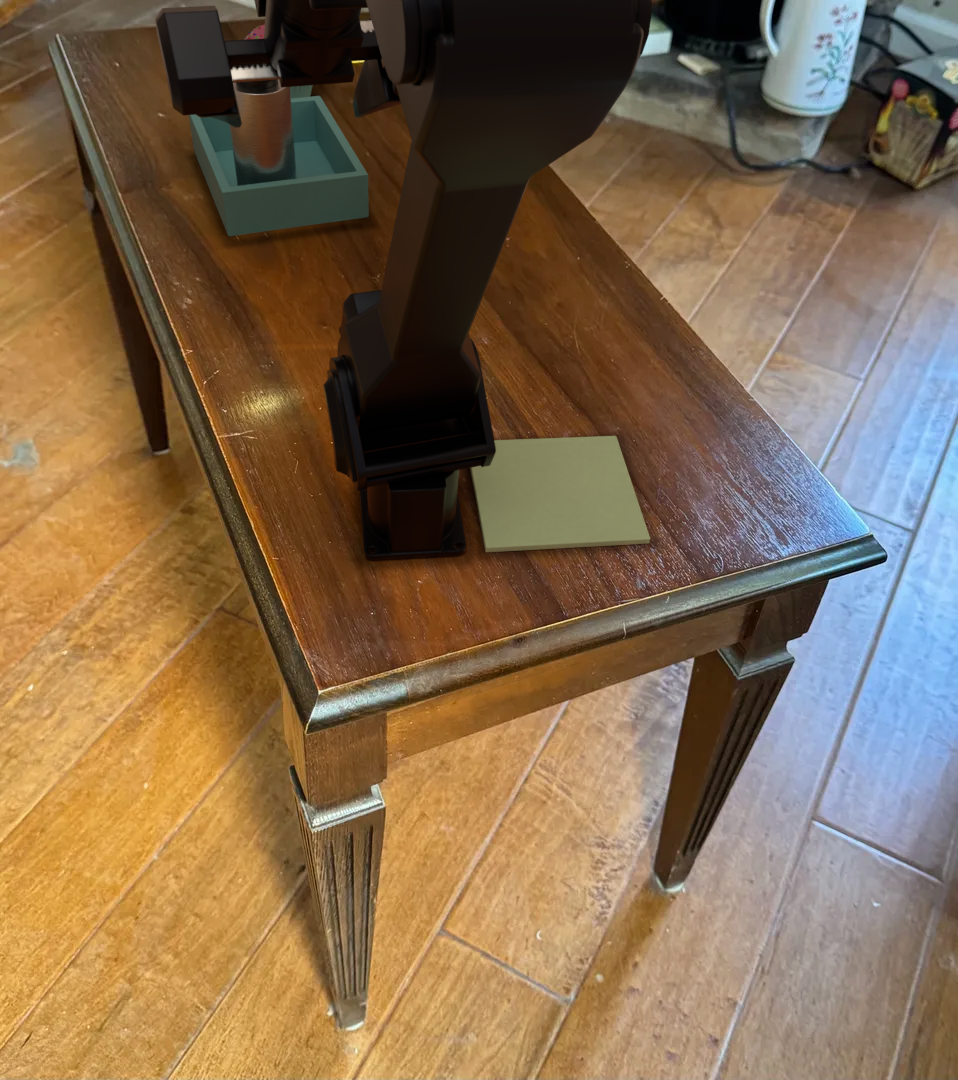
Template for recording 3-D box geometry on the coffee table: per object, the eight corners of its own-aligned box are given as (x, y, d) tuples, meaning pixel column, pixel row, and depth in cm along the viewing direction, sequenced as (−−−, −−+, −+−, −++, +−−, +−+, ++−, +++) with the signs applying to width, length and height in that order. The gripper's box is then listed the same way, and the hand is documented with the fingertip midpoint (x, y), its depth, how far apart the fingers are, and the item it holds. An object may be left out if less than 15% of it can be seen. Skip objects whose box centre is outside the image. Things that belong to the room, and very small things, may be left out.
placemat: (649, 543, 62) (650, 538, 62) (485, 552, 61) (485, 547, 61) (615, 440, 69) (616, 435, 69) (465, 446, 67) (466, 440, 67)
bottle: (298, 220, 84) (288, 82, 75) (238, 220, 83) (221, 80, 74) (298, 189, 87) (288, 54, 78) (240, 189, 86) (223, 53, 77)
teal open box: (368, 224, 86) (368, 174, 82) (229, 244, 82) (222, 192, 78) (322, 143, 95) (319, 95, 91) (195, 157, 91) (187, 108, 88)
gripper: (436, -147, 59) (393, 7, 74) (126, -145, 54) (147, 20, 69) (474, 25, 59) (423, 144, 74) (167, 43, 54) (179, 167, 69)
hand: (297, 116), depth 72 cm, fingers open, 9 cm apart
